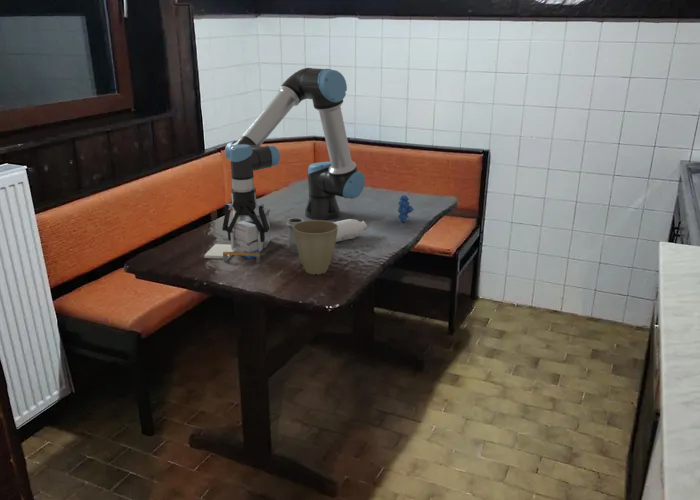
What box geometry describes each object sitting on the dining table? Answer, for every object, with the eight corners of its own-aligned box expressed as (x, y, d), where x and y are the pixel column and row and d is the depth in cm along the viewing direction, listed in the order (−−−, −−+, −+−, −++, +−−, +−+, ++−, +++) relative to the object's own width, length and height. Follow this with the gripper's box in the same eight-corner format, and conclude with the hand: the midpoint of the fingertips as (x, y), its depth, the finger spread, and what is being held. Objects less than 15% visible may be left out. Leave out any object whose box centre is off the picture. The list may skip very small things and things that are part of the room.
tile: (238, 247, 233) (238, 244, 232) (228, 258, 221) (228, 256, 221) (215, 246, 234) (215, 243, 233) (204, 257, 222) (204, 255, 222)
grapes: (410, 227, 255) (411, 199, 251) (394, 225, 257) (395, 197, 253) (416, 218, 266) (417, 191, 261) (400, 217, 267) (401, 190, 263)
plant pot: (342, 277, 206) (341, 231, 200) (297, 280, 203) (296, 235, 197) (333, 261, 220) (333, 218, 214) (292, 264, 217) (290, 221, 211)
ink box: (260, 255, 224) (258, 225, 220) (249, 259, 221) (247, 228, 217) (245, 250, 230) (243, 220, 226) (234, 253, 226) (232, 223, 222)
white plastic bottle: (370, 238, 243) (370, 219, 240) (329, 247, 233) (329, 227, 230) (359, 232, 249) (359, 213, 246) (318, 241, 239) (318, 221, 236)
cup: (285, 249, 231) (283, 218, 227) (301, 246, 233) (301, 216, 229) (291, 255, 225) (289, 224, 220) (308, 252, 227) (307, 221, 223)
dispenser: (275, 240, 240) (274, 208, 235) (259, 263, 218) (257, 228, 213) (242, 239, 241) (240, 207, 237) (223, 261, 219) (220, 227, 215)
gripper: (276, 187, 219) (279, 247, 227) (216, 185, 222) (221, 244, 229) (271, 193, 212) (274, 254, 220) (209, 191, 215) (214, 251, 222)
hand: (247, 249), depth 225 cm, fingers closed on ink box, 9 cm apart
